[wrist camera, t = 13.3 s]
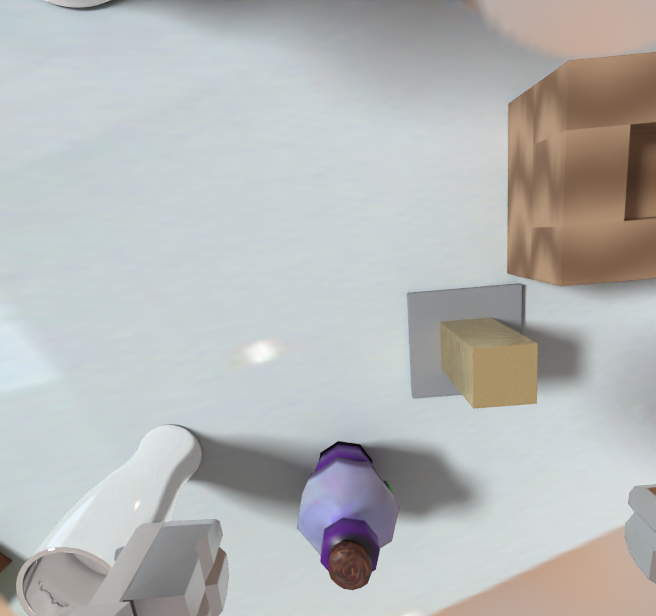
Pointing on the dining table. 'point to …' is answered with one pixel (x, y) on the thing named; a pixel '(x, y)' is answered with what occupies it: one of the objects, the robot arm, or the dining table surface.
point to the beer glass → (107, 523)
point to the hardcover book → (3, 562)
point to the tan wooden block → (489, 362)
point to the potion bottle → (347, 514)
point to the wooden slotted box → (584, 173)
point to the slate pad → (451, 306)
